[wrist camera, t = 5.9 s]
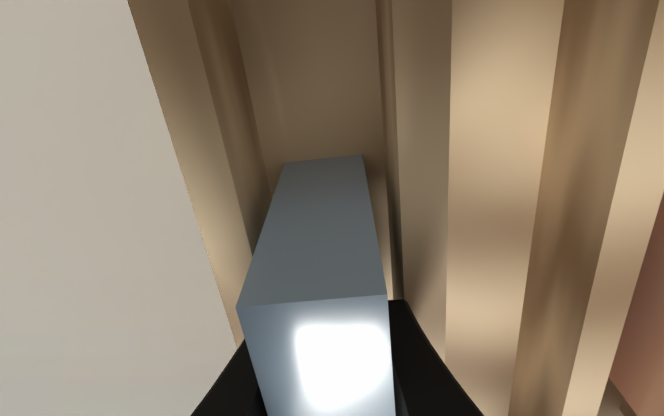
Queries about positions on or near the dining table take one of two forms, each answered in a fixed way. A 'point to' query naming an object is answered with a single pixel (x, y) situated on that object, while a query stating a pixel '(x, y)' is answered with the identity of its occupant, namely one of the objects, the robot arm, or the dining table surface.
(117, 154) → the dining table surface
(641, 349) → the salmon pink block
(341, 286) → the slate plate
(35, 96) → the dining table surface
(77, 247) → the dining table surface
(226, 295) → the dish rack
